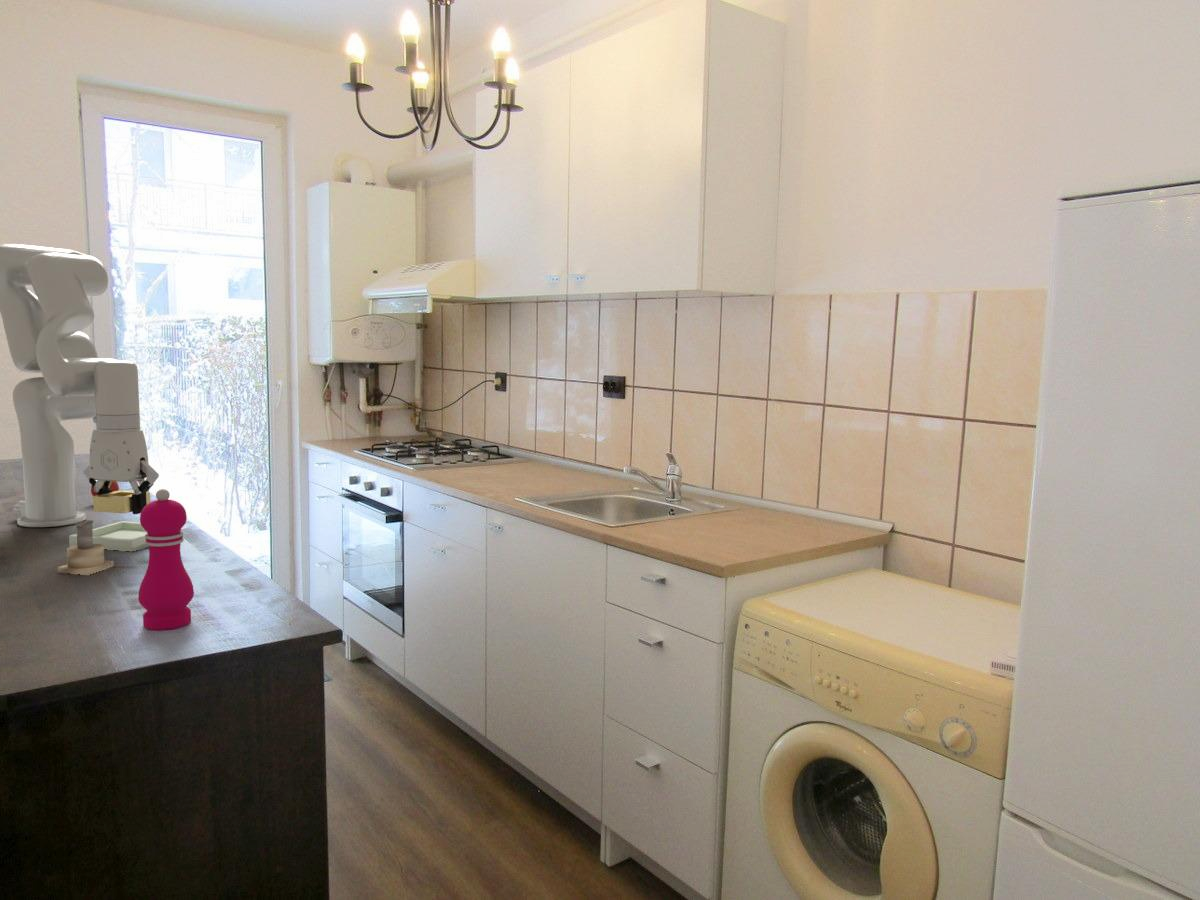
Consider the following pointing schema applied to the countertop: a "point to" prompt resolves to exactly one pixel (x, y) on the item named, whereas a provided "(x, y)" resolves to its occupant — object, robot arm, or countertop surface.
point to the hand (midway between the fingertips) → (122, 511)
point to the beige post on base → (85, 553)
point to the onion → (113, 487)
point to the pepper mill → (165, 566)
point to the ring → (115, 502)
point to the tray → (117, 536)
